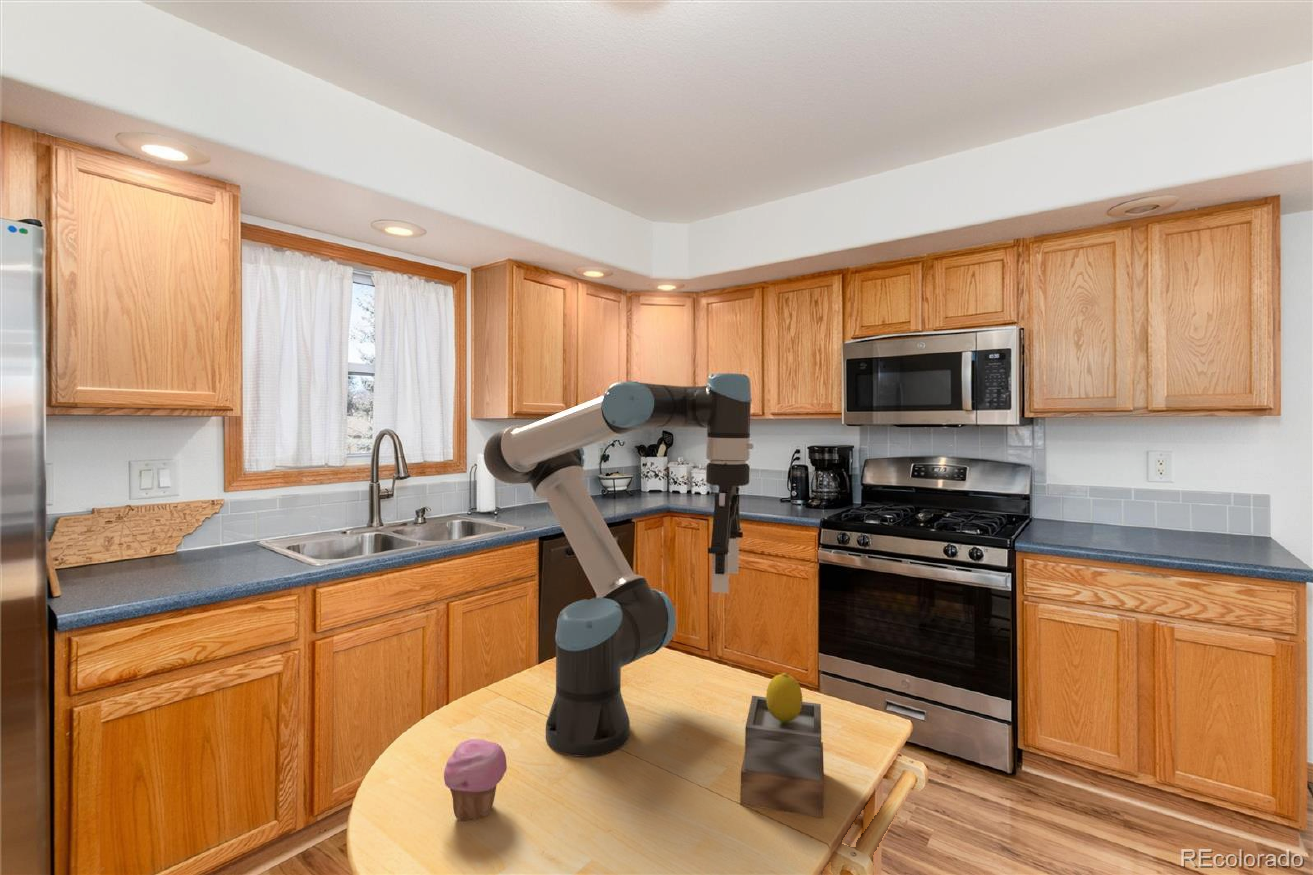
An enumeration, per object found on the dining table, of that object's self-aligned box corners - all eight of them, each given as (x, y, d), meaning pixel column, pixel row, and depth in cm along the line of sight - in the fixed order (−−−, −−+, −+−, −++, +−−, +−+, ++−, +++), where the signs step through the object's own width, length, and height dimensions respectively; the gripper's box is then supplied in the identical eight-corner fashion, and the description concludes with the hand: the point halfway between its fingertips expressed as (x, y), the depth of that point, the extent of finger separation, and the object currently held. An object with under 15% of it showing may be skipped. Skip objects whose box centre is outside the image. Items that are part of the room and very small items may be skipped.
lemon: (794, 736, 93) (795, 683, 93) (760, 726, 96) (761, 675, 96) (806, 721, 98) (807, 671, 98) (773, 712, 101) (774, 663, 101)
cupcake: (452, 794, 94) (453, 729, 94) (510, 792, 95) (511, 727, 95) (436, 833, 85) (436, 761, 85) (500, 830, 86) (500, 759, 86)
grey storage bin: (740, 804, 93) (741, 728, 93) (748, 761, 104) (749, 694, 104) (823, 817, 90) (825, 739, 90) (822, 772, 102) (823, 702, 101)
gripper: (741, 467, 96) (738, 604, 97) (756, 458, 120) (753, 567, 121) (693, 466, 98) (691, 599, 99) (717, 457, 122) (715, 564, 123)
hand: (725, 582), depth 110 cm, fingers open, 13 cm apart
